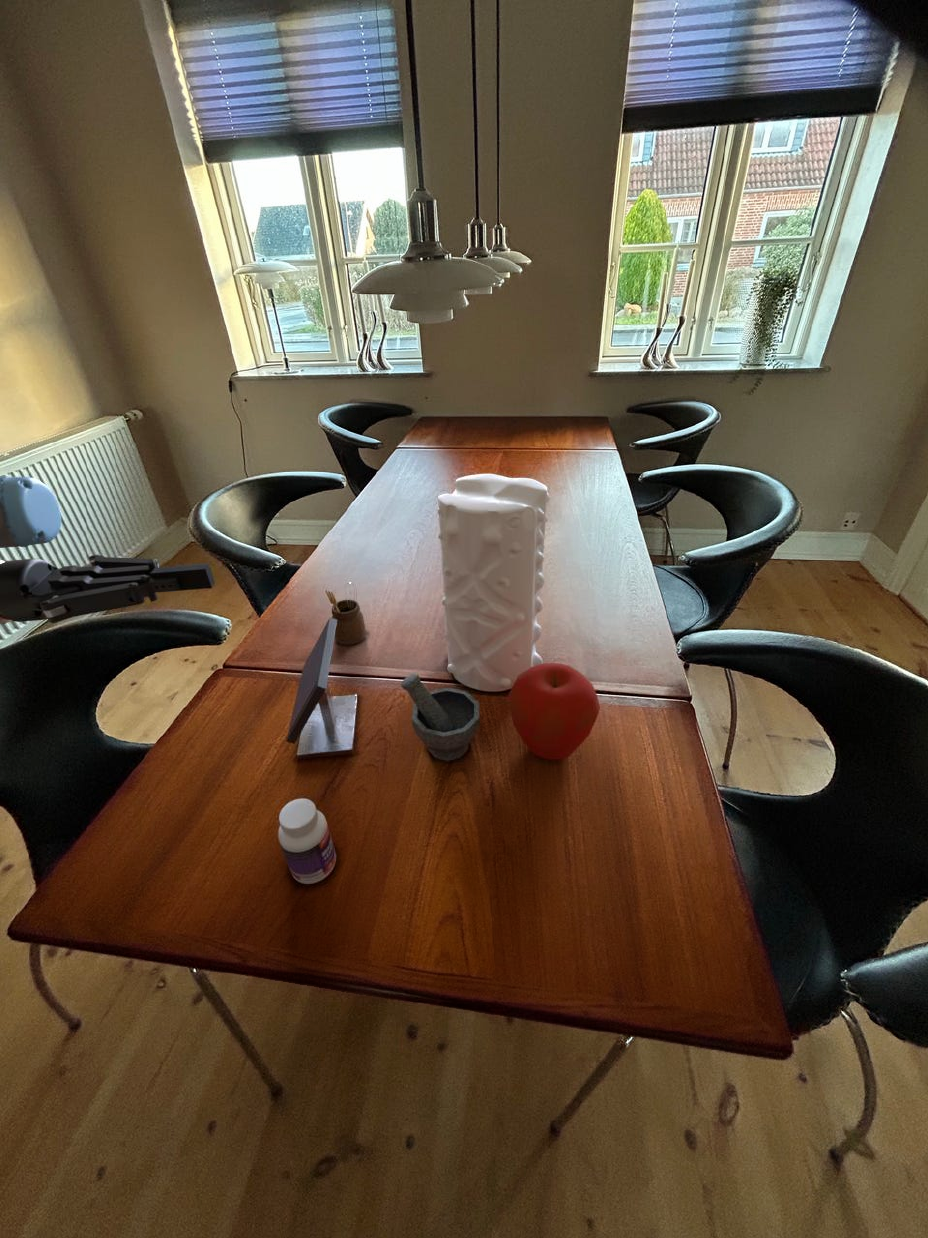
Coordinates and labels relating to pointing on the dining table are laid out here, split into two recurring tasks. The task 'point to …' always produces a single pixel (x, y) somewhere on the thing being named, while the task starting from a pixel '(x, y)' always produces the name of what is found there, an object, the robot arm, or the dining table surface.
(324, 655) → the monitor screen
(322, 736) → the monitor stand
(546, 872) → the dining table surface
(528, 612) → the vase
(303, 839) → the pill bottle
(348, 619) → the utensil holder
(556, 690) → the apple
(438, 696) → the mortar and pestle
